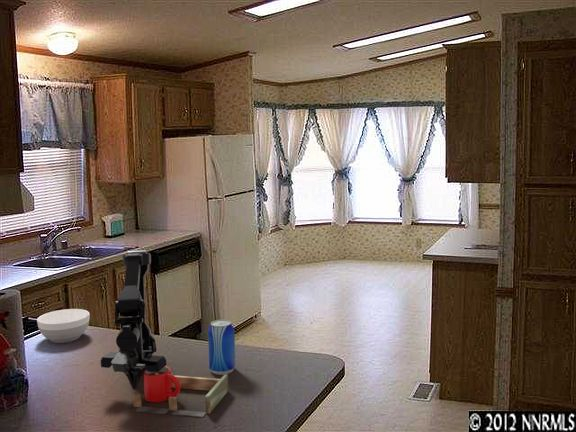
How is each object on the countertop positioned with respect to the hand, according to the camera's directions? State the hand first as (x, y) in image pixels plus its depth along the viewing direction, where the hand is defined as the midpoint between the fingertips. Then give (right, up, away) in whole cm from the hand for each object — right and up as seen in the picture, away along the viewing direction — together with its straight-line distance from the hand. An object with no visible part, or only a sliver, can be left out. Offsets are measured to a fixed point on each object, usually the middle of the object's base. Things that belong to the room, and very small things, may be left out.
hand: (135, 389), depth 178 cm
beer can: (+24, +1, +16) cm, 29 cm away
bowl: (-40, +4, +52) cm, 66 cm away
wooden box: (+14, -2, -5) cm, 15 cm away
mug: (+9, -2, -2) cm, 10 cm away
